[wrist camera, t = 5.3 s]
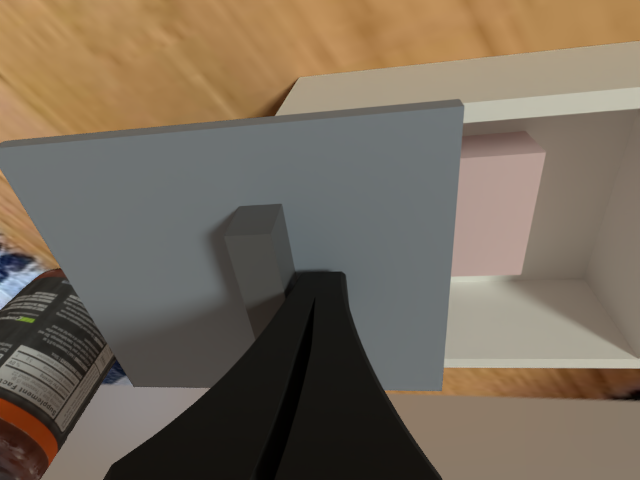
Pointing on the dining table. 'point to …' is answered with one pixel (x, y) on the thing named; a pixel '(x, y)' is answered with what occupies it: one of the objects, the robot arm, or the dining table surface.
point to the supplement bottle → (45, 372)
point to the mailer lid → (253, 232)
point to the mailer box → (531, 199)
